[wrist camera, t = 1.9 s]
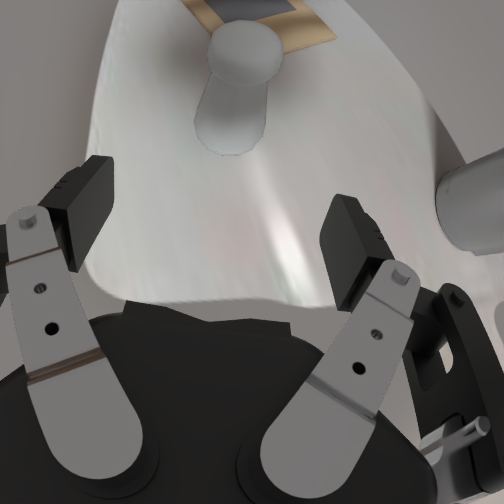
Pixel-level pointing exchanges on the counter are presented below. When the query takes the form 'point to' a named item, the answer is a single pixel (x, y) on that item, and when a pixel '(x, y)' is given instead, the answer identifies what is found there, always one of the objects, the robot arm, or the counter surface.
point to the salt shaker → (237, 86)
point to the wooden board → (266, 19)
